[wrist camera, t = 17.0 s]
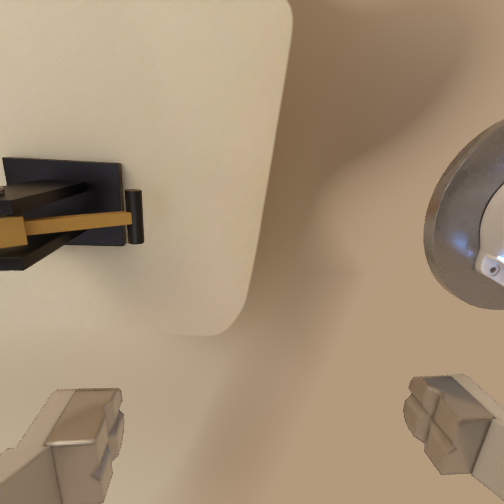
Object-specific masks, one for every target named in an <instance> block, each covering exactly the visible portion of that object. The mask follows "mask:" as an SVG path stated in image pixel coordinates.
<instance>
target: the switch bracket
mask: <svg viewBox="0 0 504 504" xmlns="http://www.w3.org/2000/svg"><path fill="white" fill-rule="evenodd" d="M2 160H3V165H4V171H5V176H6V182H7V186H1V187H0V215H15V214H18V213H20V214H21V215H22V216H23V219H30V218H42V217H55V216H68V215H80V214H93V213H106V212H119V211H124V202H123V188H122V174H121V163H107V162H89V161H71V160H52V159H34V158H15V157H3V158H2ZM27 242H28V245H23V246H15V247H7V248H0V271H9V270H19V271H23V270H25V269H27V268H28V267H30V266H32V265H33V264H35V263H36V262H38V261H40V260H41V259H43V258H44V257H46V256H47V255H49V254H51V253H52V252H54V251H55V250H57V249H58V248H60V247H62V246H63V245H91V246H124V245H125V244H126V231H125V225H120V226H111V227H101V228H92V229H83V230H74V231H64V232H55V233H46V234H37V235H27Z"/></svg>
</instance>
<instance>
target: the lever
mask: <svg viewBox="0 0 504 504" xmlns="http://www.w3.org/2000/svg"><path fill="white" fill-rule="evenodd" d="M125 200H126V211H119V212H106V213H93V214H80V215H68V216H55V217H42V218H30V219H23V216H22V215H21V214H20V213H18V214H15V215H0V248H7V247H15V246H23V245H28V242H27V235H37V234H46V233H55V232H64V231H74V230H83V229H92V228H101V227H111V226H120V225H127V230H128V243H130V244H142V243H144V227H143V207H142V191H141V190H138V189H127V190H125Z"/></svg>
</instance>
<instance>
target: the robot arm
mask: <svg viewBox="0 0 504 504" xmlns="http://www.w3.org/2000/svg"><path fill="white" fill-rule="evenodd" d="M475 270H476V271H477V272H478V273H480V274H481V275H483V276H485V277H486V278H488V279H490V280H492V281H493V282H495V283H497V284H499V285H500V286H502V287H504V184H503V185H502V186H501V187H500V188H499V189H498V191H497V192H496V193H495V194H494V196H493V197H492V199H491V200H490V202H489V204H488V206H487V208H486V210H485V212H484V215H483V218H482V221H481V226H480V250H479V253H478V256H477V259H476V262H475ZM409 390H410V392H411V395H410V396H409V397H408V398H407V399H406V400H405V404H404V409H403V412H404V418H405V422H406V424H407V426H408V428H409V430H410V431H411V433H412V434H413V436H414V437H416V438H417V439H419V440H420V441H422V442H423V443H424V452H425V453H426V454H427V456H428V457H429V459H430V460H431V462H432V463H433V464H434V466H435V467H436V469H437V470H438V471H439V473H440V474H441V475H450V474H470V473H472V476H473V477H474V478H475V479H477V480H478V481H479V482H480V483H482V484H483V485H484V486H485V487H487V488H488V489H489V490H491V491H492V492H493V493H494V494H496V495H497V496H498V497H499V498H501V499H502V500H503V501H504V407H503V406H501V405H500V404H499V403H498V402H497V401H496V400H494V399H493V398H492V397H491V396H490V395H489V394H488V393H487V392H485V391H484V390H483V389H482V388H481V387H480V386H479V385H478V384H476V383H475V382H474V381H473V380H472V379H471V378H470V377H468V376H466V375H464V374H455V375H445V376H444V375H441V376H419V377H413V379H412V380H411V381H410V385H409ZM121 403H122V394H121V390H120V389H119V388H93V389H90V388H89V389H57V390H56V391H54V392H53V393H52V394H51V395H50V397H49V398H48V400H47V401H46V403H45V404H44V406H43V407H42V409H41V410H40V412H39V413H38V415H37V416H36V418H35V419H34V421H33V422H32V424H31V425H30V427H29V428H28V430H27V431H26V433H25V434H24V435H23V437H22V439H21V440H20V441H19V443H18V444H17V446H16V447H15V448H8V449H6V450H5V451H3V452H2V453H0V504H101V503H104V500H105V497H106V493H107V490H108V487H109V484H110V481H111V478H112V474H113V471H112V461H113V460H114V459H115V458H116V457H117V456H118V455H119V452H120V448H121V445H122V439H123V434H124V414H123V413H122V412H121V411H120V410H119V409H120V406H121Z"/></svg>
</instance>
